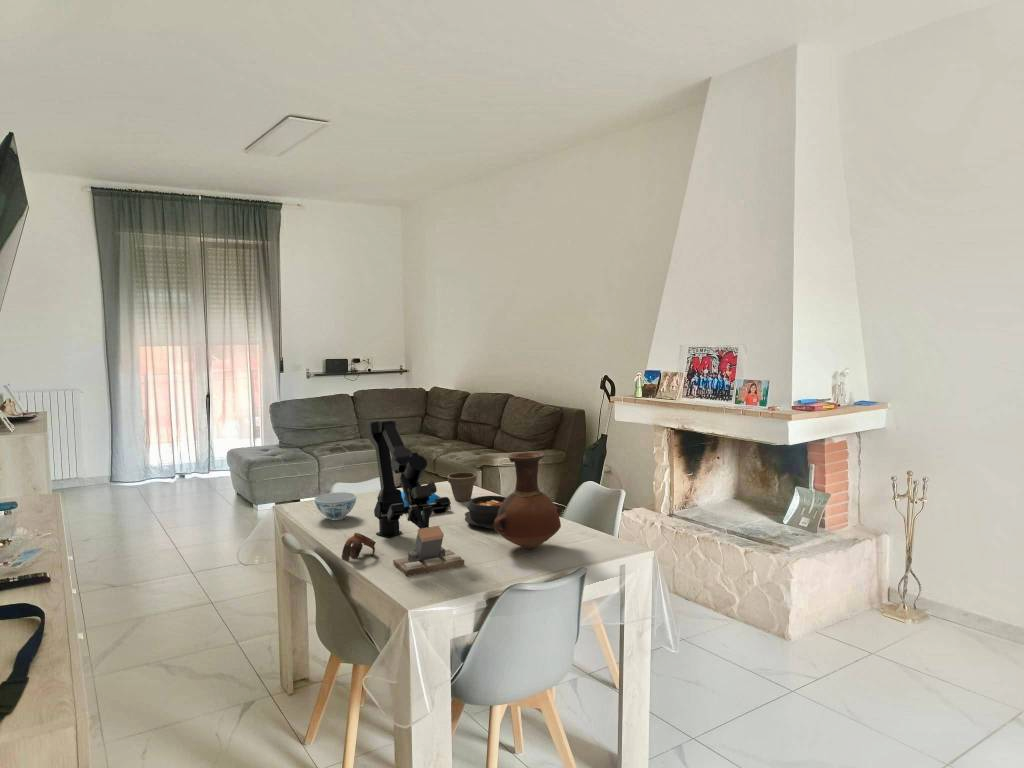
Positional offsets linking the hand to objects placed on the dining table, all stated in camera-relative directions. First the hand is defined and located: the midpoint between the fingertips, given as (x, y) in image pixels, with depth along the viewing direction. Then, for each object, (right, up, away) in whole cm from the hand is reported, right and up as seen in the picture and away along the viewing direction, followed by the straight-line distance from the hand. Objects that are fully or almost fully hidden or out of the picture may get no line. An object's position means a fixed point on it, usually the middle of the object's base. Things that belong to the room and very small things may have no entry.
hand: (427, 533), depth 206 cm
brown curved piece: (-22, -9, +8) cm, 25 cm away
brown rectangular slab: (+1, -10, 0) cm, 9 cm away
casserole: (+18, -6, +42) cm, 46 cm away
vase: (+30, -8, +15) cm, 35 cm away
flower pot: (+5, -3, +76) cm, 76 cm away
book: (-11, -4, +66) cm, 67 cm away
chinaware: (-40, -6, +52) cm, 65 cm away
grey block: (-1, -7, +2) cm, 8 cm away
